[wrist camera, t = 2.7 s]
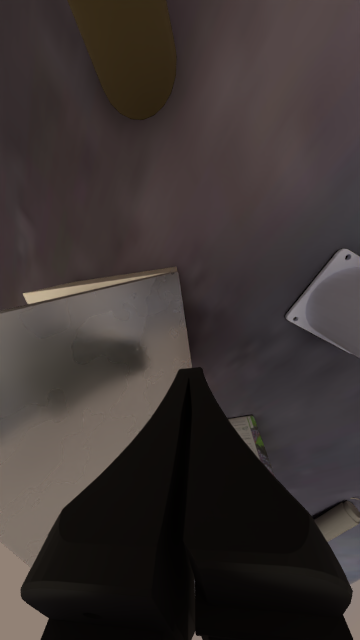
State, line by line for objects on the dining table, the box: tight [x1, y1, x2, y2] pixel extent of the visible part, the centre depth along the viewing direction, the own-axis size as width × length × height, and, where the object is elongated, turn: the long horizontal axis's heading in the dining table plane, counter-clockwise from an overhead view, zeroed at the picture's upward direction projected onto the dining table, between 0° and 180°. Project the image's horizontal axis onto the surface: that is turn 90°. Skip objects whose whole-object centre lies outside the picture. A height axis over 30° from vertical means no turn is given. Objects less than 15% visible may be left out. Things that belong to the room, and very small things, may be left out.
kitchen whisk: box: [314, 498, 360, 542], centre depth 33 cm, size 6×34×6 cm, turn 151°
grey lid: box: [0, 272, 192, 568], centre depth 9 cm, size 14×12×1 cm
